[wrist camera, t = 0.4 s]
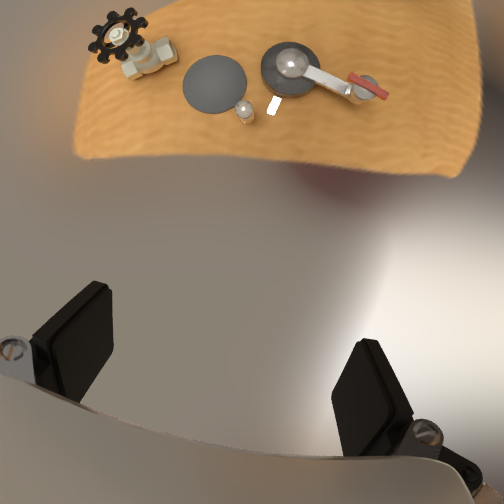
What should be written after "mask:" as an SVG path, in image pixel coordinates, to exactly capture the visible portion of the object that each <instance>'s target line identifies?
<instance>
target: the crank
mask: <svg viewBox="0 0 504 504" xmlns="http://www.w3.org/2000/svg"><path fill="white" fill-rule="evenodd" d="M276 70H277V72H278V74H279V75H280V76H281V77H283V78H285V79H287V80H297V79H299V78H301V77H303V78H305V79H307V80H309V81H312V82H314V83H316V84H318V85H320V86H323V87H325V88H327V89H329V90H331V91H333V92H335V93H337V94H339V95H341V96H343V97H345V98H347V99H348V100H349V101H350V102H351V103H353V104H361V103H363V102H365V101H368V100H370V99H372V98H374V97H375V96H377V97H379V98H381V99H382V100H386V99H387V97H388V95H389V93H388V92H387V91H385V90H383V89H381V88H380V87H378V84H377V82H376V81H375V79H373V78H372V77H370V76H367V75H363V76H358V75H356V74H354V73H352V72H351V73H350V74H349V76H348V78H347V80H348V81H350V82H352V83H351V84H349V83H347V82H345V81H343V80H341V79H339V78H337V77H335V76H333V75H331V74H328V73H326V72H324V71H322V70H320V69H318V68H315V67H313V66H311V65H309V61H308V58H307V56H306V55H305V54H304V53H303V52H302V51H300V50H298V49H294V48H289V49H285V50H283V51H281V52H280V53H279V54H278V56H277V59H276Z"/></svg>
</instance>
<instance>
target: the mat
mask: <svg viewBox="0 0 504 504" xmlns="http://www.w3.org/2000/svg"><path fill="white" fill-rule="evenodd" d="M245 90H246V76H245V73H244V71H243V69H242V67H241V66H240V65H239V64H238V63H237V62H236V61H235V60H233V59H231V58H229V57H226V56H220V55H213V56H208V57H205V58H202V59H200V60H198V61H197V62H195V63H194V64H193V65H192V66H191V67H190V68H189V70H188V71H187V73H186V75H185V77H184V81H183V92H184V95H185V98H186V100H187V101H188V103H189V104H190V105H191V106H193V107H194V108H195V109H197V110H199V111H201V112H204V113H210V114H215V113H221V112H225V111H227V110H229V109H231V108H232V107H234V106H235V105H236V103H237V102H239V101H240V100H241V99H242V97H243V95H244V93H245Z"/></svg>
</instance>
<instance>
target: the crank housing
mask: <svg viewBox="0 0 504 504" xmlns="http://www.w3.org/2000/svg"><path fill="white" fill-rule="evenodd" d="M289 48H294V49H298V50H300V51H302V52H303V53H304V54H305V55H306V56H307V58H308V61H309V65H311V66H313V67H315V68H318V69H320V64H319V61H318V59H317V57H316V55H315V54H314V53H313V52H312V51H311V50H310V49H309V48H307V47H306V46H304V45H302V44H299V43H295V42H283V43H279V44H276V45H274V46H272V47H271V48H270V49H268V50H267V52H266V53H265V54H264V56H263V58H262V61H261V76H262V79H263V82H264V84H265V85H266V87H267V88H268V89H269V90H270V91H272V92H273V93H275V94H276V95H278V96H281V97H285V98H296V97H300V96H303V95H305V94H306V93H308V92H309V91H310V90H311V89H312V88H313V86H314V85H315V84H316V83H314V82H312V81H309V80H307V79H305V78H303V77H301V78H299V79H297V80H287V79H285V78H283V77H281V76H280V75H279V74H278V72H277V70H276V59H277V56H278V54H279V53H280V52H281V51H283V50H285V49H289ZM280 101H281V98H278V97H276V96H274V97H273V99H272V101H271V104H270V106H269V108H268V110H267V112H266V113H268V114H271V115H273V116H274V115H275V112H276V110H277V108H278V106H279V103H280ZM235 112H236V114H237V115H238V117H239V118H240V120H241V121H242V122H243V123H245V124H249V123H251V122H253V120H254V118H255V116H254V111H253V107H252V105H251V103H250V102H249V101H246V100H241V101H239V102H237V103H236V105H235Z"/></svg>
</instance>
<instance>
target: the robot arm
mask: <svg viewBox="0 0 504 504" xmlns="http://www.w3.org/2000/svg"><path fill="white" fill-rule="evenodd" d="M112 318H113V317H112V290H111V289H109V287H108V285H107V284H104V283H101V282H98V281H92V282H91V283H90V284H89V285H88V286H87V287H85V288H84V289H83V290H82V291H81V292H80V293H78V294H77V295H76V296H75V297H74V298H73V299H71V300H70V301H69V302H68V303H67V304H66V305H65V306H64V307H62V308H61V309H60V310H59V311H58V312H57V313H56V314H55V315H54V316H53V317H51V318H50V319H49V320H48V321H47V322H46V323H45V324H44V325H43V326H42V327H41V328H40V329H39V330H37V331H36V333H34V334H33V335H32V336H33V338H32V339H31V340H30V341H29V342H28V340H27V339H25V338H23V337H20V336H7V337H4V338H2V339H1V340H0V504H504V498H503V497H502V496H501V495H500V494H499V493H497V492H496V491H495V490H494V489H493V488H492V487H491V486H490V485H489V484H488V483H487V482H485V483H484V484H482V479H483V477H482V472H481V470H480V469H479V467H478V466H477V465H476V464H474V463H473V462H471V461H469V460H467V459H465V458H464V457H462V456H460V455H458V454H456V453H455V452H453V451H451V450H450V449H448V448H446V447H444V446H443V441H444V436H443V433H442V431H441V429H440V428H439V427H438V426H437V425H436V424H435V423H433V422H432V421H429V420H426V419H416V420H415V421H414V420H413V417H412V415H413V414H414V412H413V410H412V408H411V406H410V404H409V402H408V400H407V398H406V396H405V393H404V391H403V389H402V387H401V385H400V383H399V381H398V379H397V377H396V375H395V373H394V371H393V369H392V367H391V365H390V363H389V361H388V359H387V357H386V356H385V354H384V352H383V350H382V348H381V346H380V344H379V342H378V341H377V340H372V339H366V338H363V339H362V340H361V341H358V342H357V343H356V344H355V347H354V349H353V351H352V353H351V355H350V357H349V359H348V361H347V363H346V365H345V368H344V370H343V372H342V374H341V376H340V378H339V380H338V382H337V384H336V386H335V388H334V389H333V391H332V396H331V400H332V404H333V409H334V413H335V418H336V422H337V427H338V432H339V436H340V441H341V446H342V451H343V456H309V455H294V454H282V453H272V452H263V451H255V450H248V449H241V448H235V447H229V446H223V445H218V444H212V443H207V442H203V441H198V440H193V439H189V438H185V437H181V436H177V435H172V434H169V433H165V432H161V431H158V430H154V429H151V428H147V427H144V426H141V425H138V424H134V423H131V422H128V421H125V420H122V419H119V418H117V417H113V416H111V415H108V414H106V413H103V412H100V411H97V410H95V409H92V408H90V407H87V406H85V405H82V404H80V401H81V399H82V398H83V397H84V395H85V393H86V392H87V390H88V389H89V387H90V386H91V384H92V383H93V381H94V380H95V378H96V377H97V375H98V374H99V372H100V370H101V369H102V367H103V366H104V364H105V363H106V362H107V360H108V359H109V357H110V356H111V354H112V352H113V347H114V343H113V319H112Z"/></svg>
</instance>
